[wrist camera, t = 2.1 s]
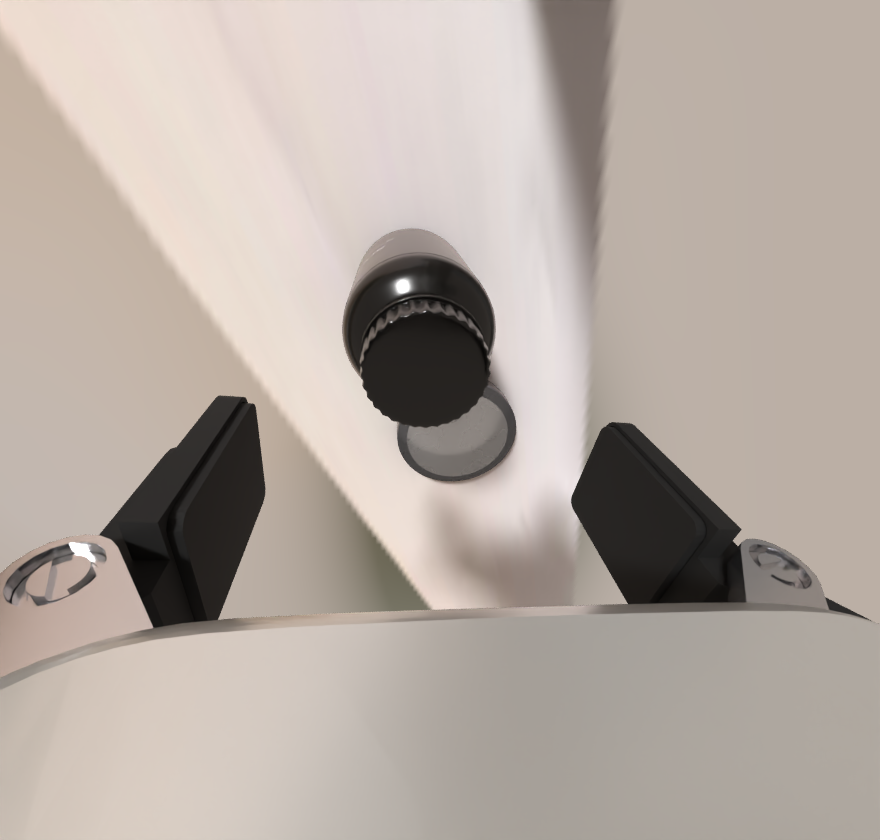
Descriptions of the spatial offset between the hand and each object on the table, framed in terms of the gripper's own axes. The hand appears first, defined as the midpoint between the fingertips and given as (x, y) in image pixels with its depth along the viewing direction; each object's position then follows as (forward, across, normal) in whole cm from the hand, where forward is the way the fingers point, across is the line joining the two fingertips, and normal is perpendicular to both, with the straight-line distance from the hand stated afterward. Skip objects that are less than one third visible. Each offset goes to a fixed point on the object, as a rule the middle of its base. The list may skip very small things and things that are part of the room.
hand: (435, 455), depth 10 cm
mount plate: (+16, -5, +9) cm, 19 cm away
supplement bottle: (+16, 0, -1) cm, 16 cm away
